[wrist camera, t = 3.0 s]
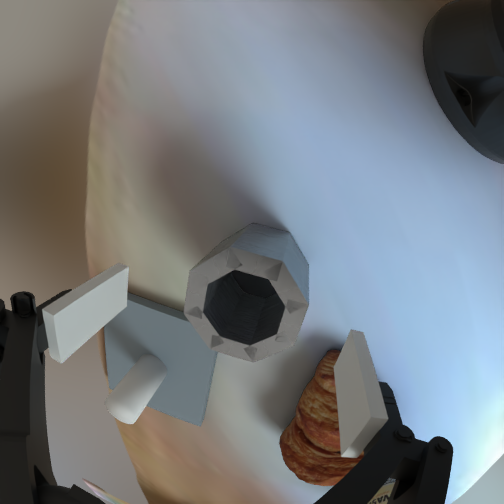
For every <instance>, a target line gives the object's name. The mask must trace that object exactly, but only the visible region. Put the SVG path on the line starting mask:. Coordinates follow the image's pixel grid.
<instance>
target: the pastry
mask: <svg viewBox="0 0 504 504" xmlns="http://www.w3.org/2000/svg"><path fill="white" fill-rule="evenodd" d="M340 353H341V351H338V350H330V351H328V352H327V354H326V356H325V357H324V358H323V359H322V360H321V361H320V362H319V364H318V366H317V369H316V372H315V376H314V377H313V378H312V380H311V381H310V382H309V383H308V384H307V386H306V388H305V389H304V391H303V393H302V396H301V398H300V400H299V403H298V405H297V407H296V416H295V417H294V418H293V419H292V421H291V423H290V424H289V425H288V426H287V427H286V429H285V430H284V431H283V433H282V435H281V436H280V443H279V444H280V448H281V452H282V456H283V460H284V461H285V464H286V465H287V467H288V468H289V469H290V470H291V471H292V472H294V473H295V474H296V476H297V477H298V478H299V479H300V480H303V481H305V482H307V483H310V484H314V485H321V486H332V485H336V484H337V483H338V482H339V481H340V480H341V479H342V478H343V477H344V476H345V475H346V474H347V473H348V472H349V471H350V470H351V469H352V468H353V467H354V466H355V465H356V464H357V463H358V462H359V461H360V460H361V459H362V458H363V457H364V452H362V453H361V454H360V455H359V456H358V457H357V458H351V457H341V446H340V431H339V418H338V406H337V395H336V385H335V376H334V365H335V363H336V361H337V359H338V357H339V355H340Z"/></svg>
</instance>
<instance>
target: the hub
mask: <svg viewBox="0 0 504 504" xmlns="http://www.w3.org/2000/svg"><path fill="white" fill-rule="evenodd" d="M233 270H238V271H242V272H245V273H249V274H252V275H256V276H259V277H263V278H267V279H269V281H270V282H271V284H272V286H273V287H274V289H275V290H276V292H277V293H275V294H273V295H271V296H269V297H267V298H262V297H259V296H255V295H252V294H248V293H245V292H243V291H242V289H241V288H240V286H239V285H238V283H237V282H236V280H235V279H234V277H233V275H232V274H231V271H233ZM308 306H309V264H308V263H307V261H306V259H305V257H304V256H303V254H302V252H301V251H300V249H299V247H298V245H297V244H296V242H295V240H294V239H293V237H292V235H291V233H289V232H285V231H282V230H278V229H274V228H270V227H267V226H263V225H259V224H255V223H252V224H250V225H249V226H247V227H245V228H244V229H242V230H240V231H239V232H237V233H235V234H234V235H232V236H230V237H229V238H227V239H225V240H224V241H222V242H221V243H220V244H219V245H218V246H216V247H215V248H214V249H213V250H212V251H211V252H210V253H209V254H208V255H206V256H205V257H204V258H203V259H202V260H201V261H200V262H199V263H198V264H197V265H195V266H194V267H193V268H192V269H191V270H190V272H189V278H188V285H187V292H186V299H185V306H184V314H185V316H186V317H187V319H188V320H189V322H190V323H191V324H192V326H193V327H194V328H195V330H196V331H197V333H198V334H199V335H200V337H201V338H202V339H203V341H204V342H205V343H206V345H207V346H208V347H209V349H211V350H214V351H217V352H220V353H224V354H227V355H230V356H233V357H237V358H240V359H243V360H247V361H250V362H256V361H258V360H261V359H263V358H266V357H268V356H271V355H273V354H276V353H278V352H281V351H283V350H286V349H288V348H290V347H293V346H294V345H295V342H296V339H297V336H298V334H299V331H300V328H301V325H302V323H303V320H304V317H305V314H306V311H307V308H308Z"/></svg>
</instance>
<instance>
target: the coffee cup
mask: <svg viewBox="0 0 504 504" xmlns="http://www.w3.org/2000/svg"><path fill="white" fill-rule="evenodd" d="M394 484H395V482H392V483H388V484H385V485H383V486H382V487H381V488H380V490H379V491H378V492H377V493H376V495H375V496H374V497H373V498H372V499H371V500H370V502H369V503H368V504H387V502H388V499H389V497H390V494H391V492H392V489H393V487H394Z"/></svg>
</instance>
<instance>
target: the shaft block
mask: <svg viewBox="0 0 504 504" xmlns="http://www.w3.org/2000/svg"><path fill="white" fill-rule="evenodd" d="M104 334H105V349H106V362H107V372H108V381H109V388H110V389H112V390H113V391H112V392H111V393H110V394H109V396H108V397H107V398H106V399H105V406H106V408H107V410H108V411H109V412H110V413H111V414H112V415H113V416H114V417H115V418H116V419H118V420H120V421H121V422H124V423H127V424H133V423H135V421H136V420H137V418H138V417H139V415H140V414H141V412H142V411H143V409H144V408H145V407H146V406H148V407H151V408H153V409H155V410H158V411H160V412H163V413H165V414H168V415H170V416H173V417H175V418H178V419H181V420H183V421H186V422H189V423H192V424H194V425H197V426H201V424H202V422H203V420H204V415H205V410H206V405H207V400H208V395H209V390H210V385H211V381H212V376H213V371H214V366H215V361H216V357H217V351H214V350H211V349H209V347H208V346H207V345H206V343H205V342H204V341H203V339H202V338H201V337H200V335H199V334H198V333H197V331H196V330H195V328H194V327H193V326H192V324H191V323H190V322H189V320H188V319H187V317H186V316H185V314H184V312H181V311H178V310H175V309H173V308H170V307H167V306H164V305H161V304H158V303H156V302H153V301H150V300H147V299H145V298H142V297H139V296H137V295H134V294H131V293H129V292H127V307H125V308H124V309H123V310H122V311H121V312H120V313H118V314H117V315H116V316H115V317H114V318H113V319H111V320H110V321H109V322H108V323H107V324H106V325H104Z"/></svg>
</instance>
